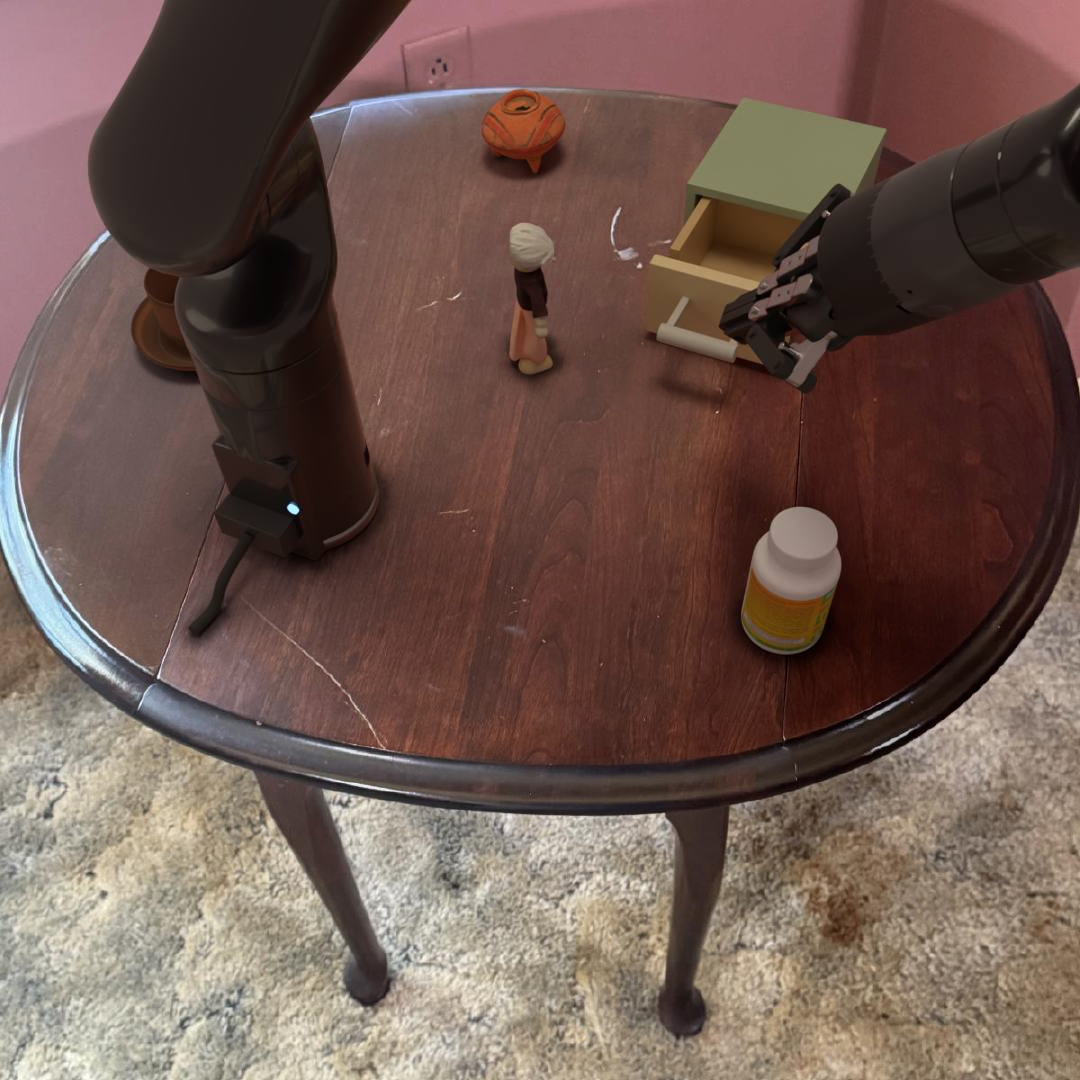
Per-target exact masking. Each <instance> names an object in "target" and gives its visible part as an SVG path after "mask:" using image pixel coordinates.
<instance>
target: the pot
mask: <svg viewBox="0 0 1080 1080" xmlns="http://www.w3.org/2000/svg"><path fill="white" fill-rule="evenodd" d="M566 124H567V123H566V120H565V117H564V114H563V113H562V111H561V109H560V108H559V107H558V105H557V104H555V102H554V101H553V100H551V99H549V98H548V97H546V96H544V95H541V94H539V93H538V92H537V91H534V90H529V89H527V88H517V89H513V90H510V91H509V92H507V93H506V94H505V95H503V96H502V98H501V99H499V100H498V101H497V102H496V103H495V104H494V105H493V106H492V107H491V108H490V109H489V110H488V111H487V112H486V114H485V116H484V118H483V120H482V123H481V136H482V139H483V140H484V142H485V143H486V144H487V145H488V146H489V147H490V150H491V152H492V154H493V155H495V156H496V157H502V156H504V157H507V158H509V159H515V160H526V161H527V163H528V164H529V167H530V169H531V170H532V173H533V174H537V173H538V172H539V168H540V165H541V160H542V156H543V155H544V154H545V153H547V152H549V151H550V150H551V149H552V148H553V147H555V145H556V144H557V143H558V142H559V141H560V139H561V138H562V136H563V134H564V133H565V130H566V126H567V125H566Z"/></svg>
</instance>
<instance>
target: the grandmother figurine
mask: <svg viewBox="0 0 1080 1080" xmlns="http://www.w3.org/2000/svg"><path fill="white" fill-rule="evenodd" d="M508 253H509V260H510V263H511V264H512V266H513V267H514V270H513V277H514V283H515V287H516V290H515V291H516V293H515V294H516V298H515V306H514V313H513V316H512V317H513V318H512V325H511V332H510V342H509V358H510V359H511V361H514V362H517V361H518V360H519V361H518V363H517V365H518V369H519V371H520V372H522V374H524V375H535V374H539V373H542V372H544V371H546V370H549V369H551V368H552V366H553V360H552V357H551V356H550V355H549V354H548V346H547V345H548V344H547V341H546V338H548V335H549V329H548V327H547V326H548V316H549V311H548V307H547V304H548V297H549V291H548V286H547V283H546V279H545V275H544V272H543V269H542V267H541V266H542V265H543V266H544V265H545V263H546V262H547V261H551V260H552V258H553V257H554V255H555V246H554V242H553V240H552V239H551V238H550V236H548V233H546V231H545V230H544V229H543V228H542V227H541V226H538V225H536V224H532V223H530V222H520V223H517V224H516V225H514V226H513V227H511V229H510V232H509V252H508Z"/></svg>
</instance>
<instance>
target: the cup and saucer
mask: <svg viewBox="0 0 1080 1080" xmlns="http://www.w3.org/2000/svg"><path fill="white" fill-rule="evenodd" d="M179 278H180V277H178V276H173V275H169V274H164V273H161V272H159V271H156V270H154V269H151V268H149V267H148V269H147V270H146V273H145V275H144V277H143V288H144V290H145V293H146V295H147V296H146V297H145V298H144V299H143V300H142V301H141V303H140V304H139V305H138V307H137V308H136V310H135V311H134V313H133V316H132V318H131V323H130V334H131V338H132V341H133V343H134V345H135V347H136V348H137V349H138V351H139V352H140V353H141V354H142V355H143V356H144V357H145V358H146V359H148V360H149V361H150V362H153V363H154V364H156V365H158V366H161V367H164V368H167V369H171V370H177V371H183V372H185V371H186V372H196V369H195V367H194V364H193V361H192V359H191V356H190V354H189V351H188V348H187V346H186V343H185V341H184V338H183V335H182V333H181V330H180V327H179V324H178V321H177V318H176V314H175V303H174V301H175V292H176V288H177V284H178V281H179Z"/></svg>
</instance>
